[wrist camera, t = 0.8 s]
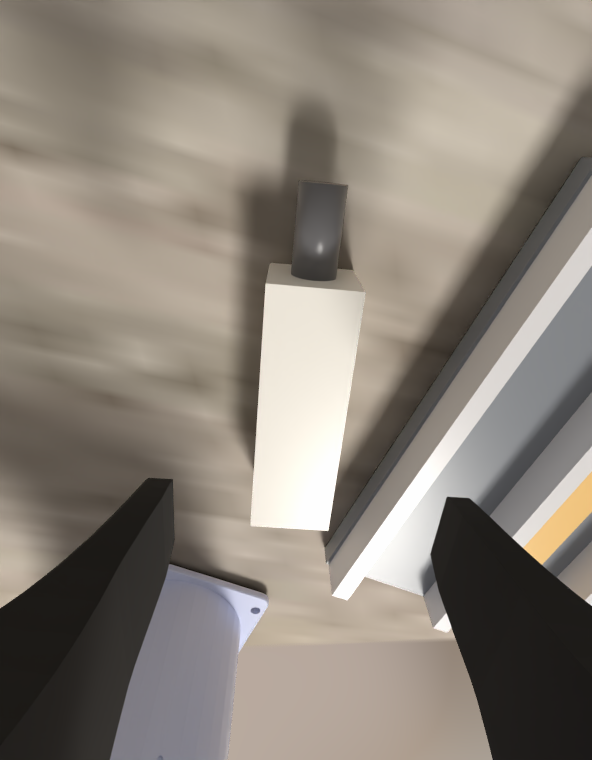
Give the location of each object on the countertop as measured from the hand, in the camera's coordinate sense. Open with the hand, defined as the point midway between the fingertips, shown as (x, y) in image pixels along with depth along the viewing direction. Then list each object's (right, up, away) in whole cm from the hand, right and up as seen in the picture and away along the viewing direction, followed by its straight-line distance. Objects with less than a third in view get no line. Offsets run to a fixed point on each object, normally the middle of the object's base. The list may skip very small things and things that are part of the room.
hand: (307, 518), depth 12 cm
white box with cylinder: (0, +5, +7) cm, 9 cm away
